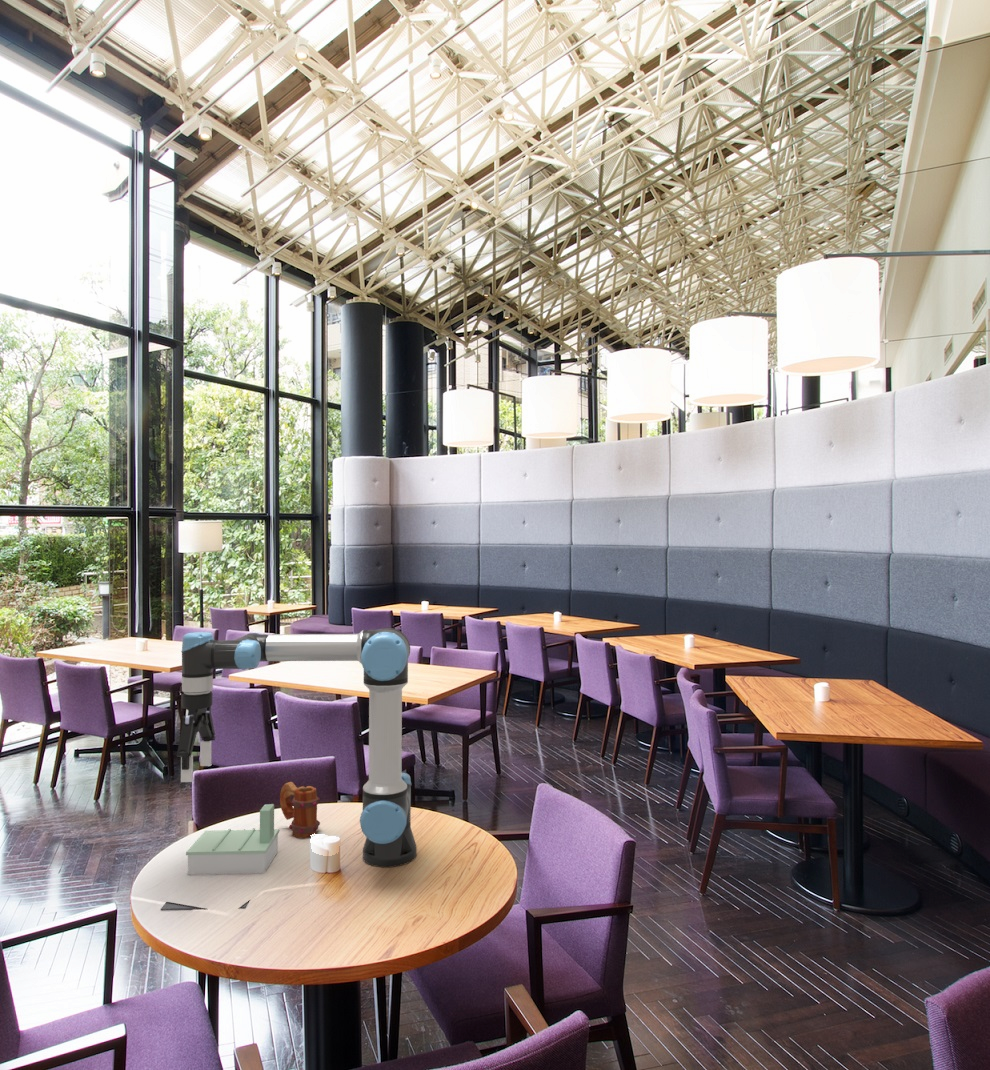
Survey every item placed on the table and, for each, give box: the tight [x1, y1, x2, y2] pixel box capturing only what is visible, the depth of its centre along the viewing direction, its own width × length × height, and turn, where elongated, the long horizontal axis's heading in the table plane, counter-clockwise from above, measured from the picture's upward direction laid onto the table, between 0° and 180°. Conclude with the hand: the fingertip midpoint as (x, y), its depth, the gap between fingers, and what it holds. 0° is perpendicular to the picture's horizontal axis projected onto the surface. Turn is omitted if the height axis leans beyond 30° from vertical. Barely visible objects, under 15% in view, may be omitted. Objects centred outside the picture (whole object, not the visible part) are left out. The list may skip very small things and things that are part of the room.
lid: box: [185, 803, 280, 856], centre depth 201 cm, size 21×15×10 cm
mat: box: [160, 899, 251, 911], centre depth 184 cm, size 20×15×1 cm
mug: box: [279, 781, 321, 839], centre depth 222 cm, size 15×8×15 cm, turn 58°
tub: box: [187, 834, 279, 876], centre depth 201 cm, size 20×14×6 cm
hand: (196, 773), depth 191 cm, fingers open, 13 cm apart
